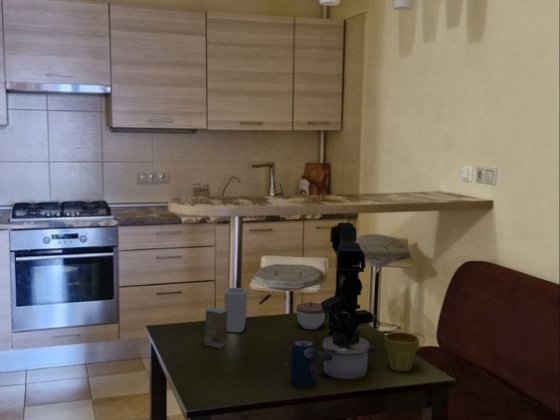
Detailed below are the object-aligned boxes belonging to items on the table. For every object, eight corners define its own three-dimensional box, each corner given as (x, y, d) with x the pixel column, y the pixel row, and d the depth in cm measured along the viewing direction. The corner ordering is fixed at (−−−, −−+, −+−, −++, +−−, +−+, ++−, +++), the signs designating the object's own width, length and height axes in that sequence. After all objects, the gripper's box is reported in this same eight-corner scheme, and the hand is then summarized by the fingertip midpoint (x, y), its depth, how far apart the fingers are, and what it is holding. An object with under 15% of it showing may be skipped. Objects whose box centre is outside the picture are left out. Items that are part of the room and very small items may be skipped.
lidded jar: (330, 327, 239) (331, 302, 238) (312, 333, 231) (313, 308, 230) (308, 320, 246) (308, 296, 245) (289, 326, 238) (290, 302, 237)
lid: (352, 336, 205) (352, 321, 205) (378, 350, 193) (379, 335, 192) (314, 342, 199) (314, 327, 198) (339, 357, 187) (339, 341, 186)
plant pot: (397, 376, 194) (398, 344, 192) (376, 364, 203) (378, 334, 201) (424, 370, 198) (426, 340, 197) (403, 359, 207) (404, 330, 206)
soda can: (317, 386, 184) (318, 346, 183) (293, 388, 183) (294, 347, 181) (311, 377, 191) (312, 338, 190) (288, 378, 190) (289, 339, 188)
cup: (227, 327, 236) (228, 287, 234) (247, 328, 235) (247, 288, 233) (223, 333, 229) (223, 292, 227) (243, 334, 228) (244, 293, 226)
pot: (358, 359, 207) (359, 337, 206) (383, 373, 196) (384, 350, 195) (307, 368, 198) (308, 346, 197) (330, 383, 187) (331, 360, 186)
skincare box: (204, 345, 216) (204, 310, 214) (210, 341, 220) (210, 306, 218) (221, 348, 213) (221, 312, 212) (227, 344, 217) (227, 309, 216)
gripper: (309, 283, 198) (307, 332, 200) (343, 298, 182) (341, 352, 184) (339, 279, 203) (338, 327, 205) (375, 294, 187) (373, 346, 189)
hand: (346, 338), depth 196 cm, fingers closed on lid, 2 cm apart
